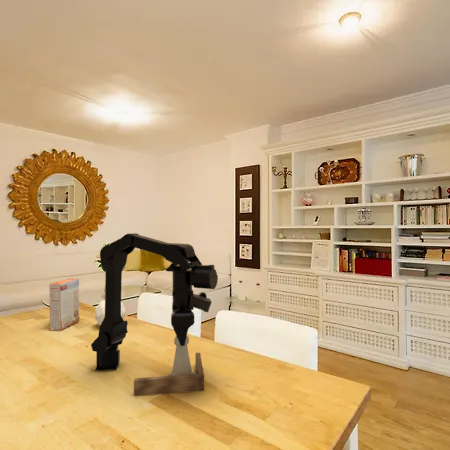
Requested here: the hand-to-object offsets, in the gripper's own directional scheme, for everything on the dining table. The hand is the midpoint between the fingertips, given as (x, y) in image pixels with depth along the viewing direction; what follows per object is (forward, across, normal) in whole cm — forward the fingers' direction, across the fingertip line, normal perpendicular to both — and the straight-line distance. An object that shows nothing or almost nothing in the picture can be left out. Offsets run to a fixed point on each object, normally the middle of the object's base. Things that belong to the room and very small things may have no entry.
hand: (182, 340), depth 94 cm
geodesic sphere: (+12, +58, +32) cm, 68 cm away
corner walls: (+12, +3, +4) cm, 13 cm away
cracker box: (+12, +62, +53) cm, 83 cm away
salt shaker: (+12, 0, 0) cm, 12 cm away
